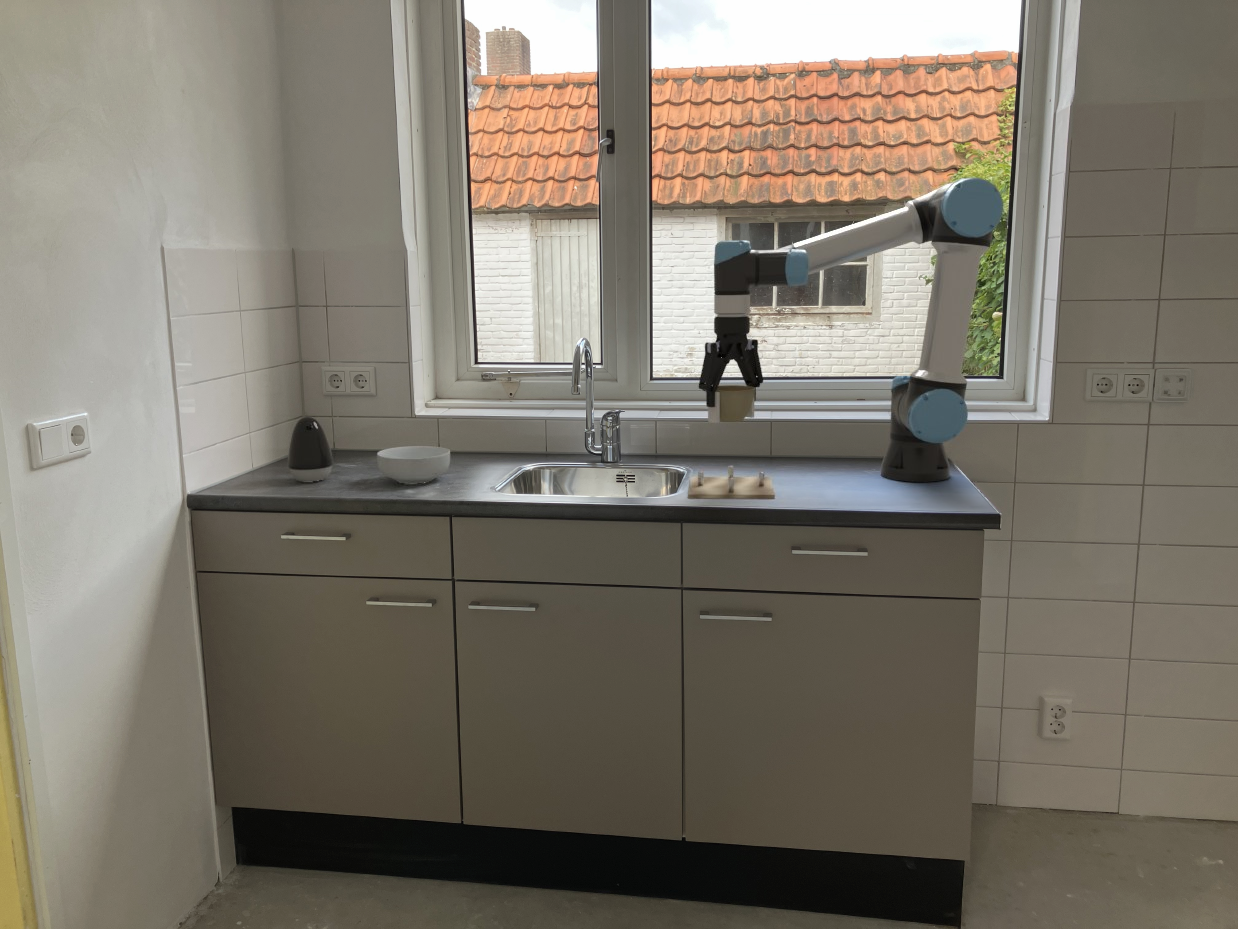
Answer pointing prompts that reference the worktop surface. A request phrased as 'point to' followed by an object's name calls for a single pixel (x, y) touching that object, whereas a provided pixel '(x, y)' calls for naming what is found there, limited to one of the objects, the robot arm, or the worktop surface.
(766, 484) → the wooden peg board
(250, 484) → the worktop surface
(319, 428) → the black egg-shaped dome
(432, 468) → the cereal bowl
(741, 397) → the flower pot
